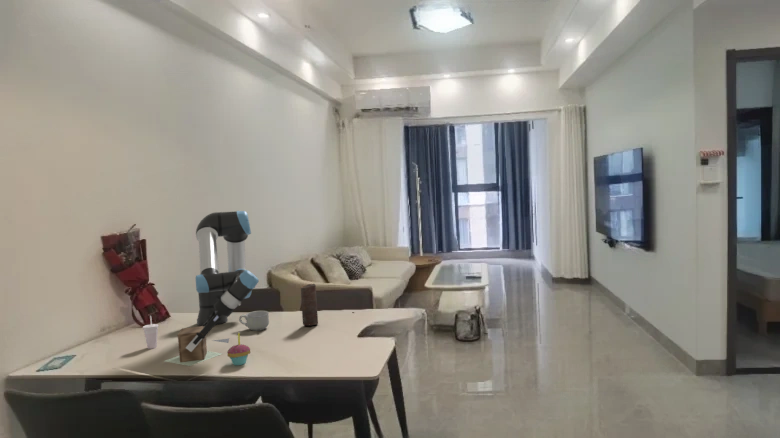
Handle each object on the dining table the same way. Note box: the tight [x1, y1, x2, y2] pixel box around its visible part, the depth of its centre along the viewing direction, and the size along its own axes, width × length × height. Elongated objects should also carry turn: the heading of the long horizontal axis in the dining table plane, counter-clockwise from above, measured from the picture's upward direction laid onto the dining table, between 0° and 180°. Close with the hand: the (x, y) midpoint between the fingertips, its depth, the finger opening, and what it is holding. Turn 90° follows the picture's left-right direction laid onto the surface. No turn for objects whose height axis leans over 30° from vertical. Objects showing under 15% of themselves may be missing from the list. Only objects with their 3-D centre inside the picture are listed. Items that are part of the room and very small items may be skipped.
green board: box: [164, 350, 223, 367], centre depth 208 cm, size 16×16×1 cm
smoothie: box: [142, 315, 159, 350], centre depth 228 cm, size 6×6×14 cm
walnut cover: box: [177, 325, 208, 362], centre depth 208 cm, size 9×10×11 cm
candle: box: [300, 283, 319, 327], centre depth 251 cm, size 8×7×20 cm
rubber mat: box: [211, 338, 230, 344], centre depth 227 cm, size 16×12×1 cm
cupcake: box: [226, 332, 251, 366], centre depth 198 cm, size 9×8×12 cm
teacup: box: [238, 310, 270, 332], centre depth 250 cm, size 14×11×8 cm
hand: (190, 345), depth 208 cm, fingers open, 13 cm apart
